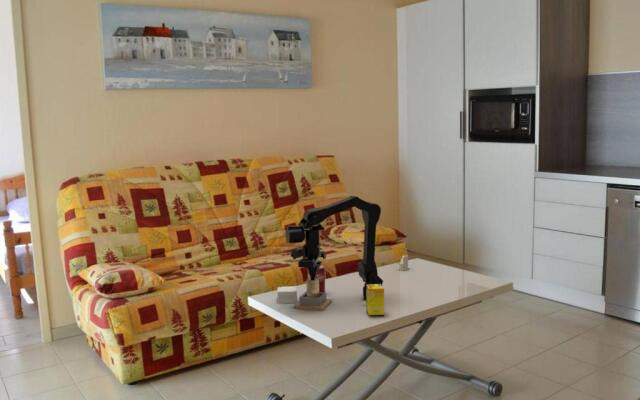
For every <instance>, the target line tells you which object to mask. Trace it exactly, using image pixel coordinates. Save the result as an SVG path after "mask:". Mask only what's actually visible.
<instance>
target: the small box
mask: <svg viewBox="0 0 640 400" xmlns="http://www.w3.org/2000/svg"><path fill="white" fill-rule="evenodd" d="M276 290H277V304H278V303H286V304H296V303H297V302H298V299H297V298H298V297H297V296H298V291H297V286H278V287H277V289H276Z"/></svg>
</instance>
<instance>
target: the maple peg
mask: <svg viewBox="0 0 640 400" xmlns="http://www.w3.org/2000/svg"><path fill="white" fill-rule="evenodd" d="M305 281H306V291H307V297H313V298H319V279H315V280H311V279H308V278H307V279H306V280H305Z"/></svg>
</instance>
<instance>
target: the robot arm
mask: <svg viewBox="0 0 640 400" xmlns="http://www.w3.org/2000/svg"><path fill="white" fill-rule="evenodd" d="M353 208H356V209H358V210H360V211H361V216H362V220H363V223H364V230H363V231H364V234H363V254H362V255H363V257H362V260H361V262H357V271H356V272H357V273H358V275H359V278H361V279H362V281H363V283H364V286H363V287H362V297H363V298H362V299H363V300H365V301H366V285H369V284H381V285H382V286H383V285H384V284H383V283H384V280H383V279H382V278H381V277H380V276H379V275H378V267H377V263H376V260H375V257H376V256H375V254H376V236H377V224H378V223H379V221H380V218H381V213H382V208H381V206H380V205H379V204H377V203H375V202H371V201H367V200H363V199H362V198H359V197H358V196H356V195H350V196H348V197H345V198H343V199H341V200H338V201H335V202H333V203H330V204H328V205H325V206H320V207H313V208H308V209H306V210H305V211H304V212H303V215H302V218H301V219H300V221H299V222H298V223H297V225H287V227H286V230H285V233H284V234H285V241H286V243H287V244H297V243H303V241H304V244H303V245H302V247H300V248H294V249H291V252H290V258H292V260H297V259H299V258H301V257H302V258H301V259H300V260H299V261H297V266H298V268H305V269H307V272H308V271H309V274H310V277H311V280H315V278H316V275H317V273H318V270H319V268H320V266H321V265H322V264H323V261H320V260H319V259H320V258H322V259H323V260H325V259H327V253H326V251H325V250H321V247H322V243H321V241H320V240H321V239H320V237H321V236H320V232H321V231H325V227H324V226H323V225H322V224H321V223H323V222H324V221H325V220H327V219H328V218H329V217H331V216H333V215H336V214H339V213H341V212H344V211H347V210H349V209H353Z"/></svg>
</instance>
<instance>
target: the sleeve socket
mask: <svg viewBox="0 0 640 400" xmlns="http://www.w3.org/2000/svg"><path fill="white" fill-rule="evenodd" d="M298 300H299V301H298ZM298 300H297V303H294V305H293V309H295V310H296V309H297V310H307V311H310V310H311V311H318V312H323V311H325V310H326V309H327V308H328V307H329V305H330V304H331V303H332V302H333V300H332V299H331V298H327V292H325V293H323V292H319V298H313V297H307V290H305V292H303V293H302V294H301V295H300V296H299V299H298Z"/></svg>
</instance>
